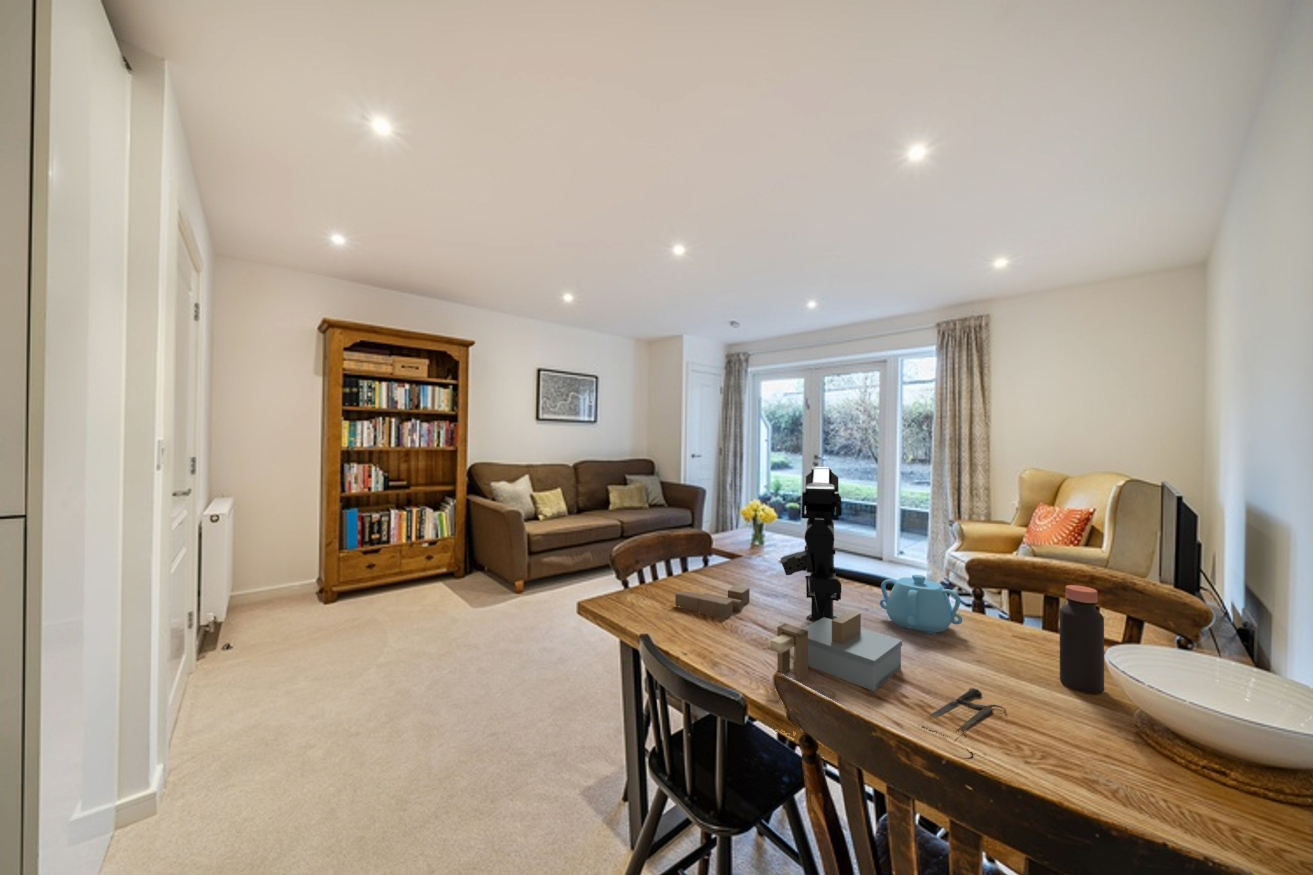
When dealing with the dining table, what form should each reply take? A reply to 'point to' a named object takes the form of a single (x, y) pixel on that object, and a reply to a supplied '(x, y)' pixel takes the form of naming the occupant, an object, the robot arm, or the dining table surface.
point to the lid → (851, 639)
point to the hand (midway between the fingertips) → (820, 612)
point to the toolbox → (834, 662)
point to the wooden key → (782, 643)
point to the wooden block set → (714, 602)
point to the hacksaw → (964, 699)
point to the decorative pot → (920, 604)
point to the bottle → (1082, 641)
